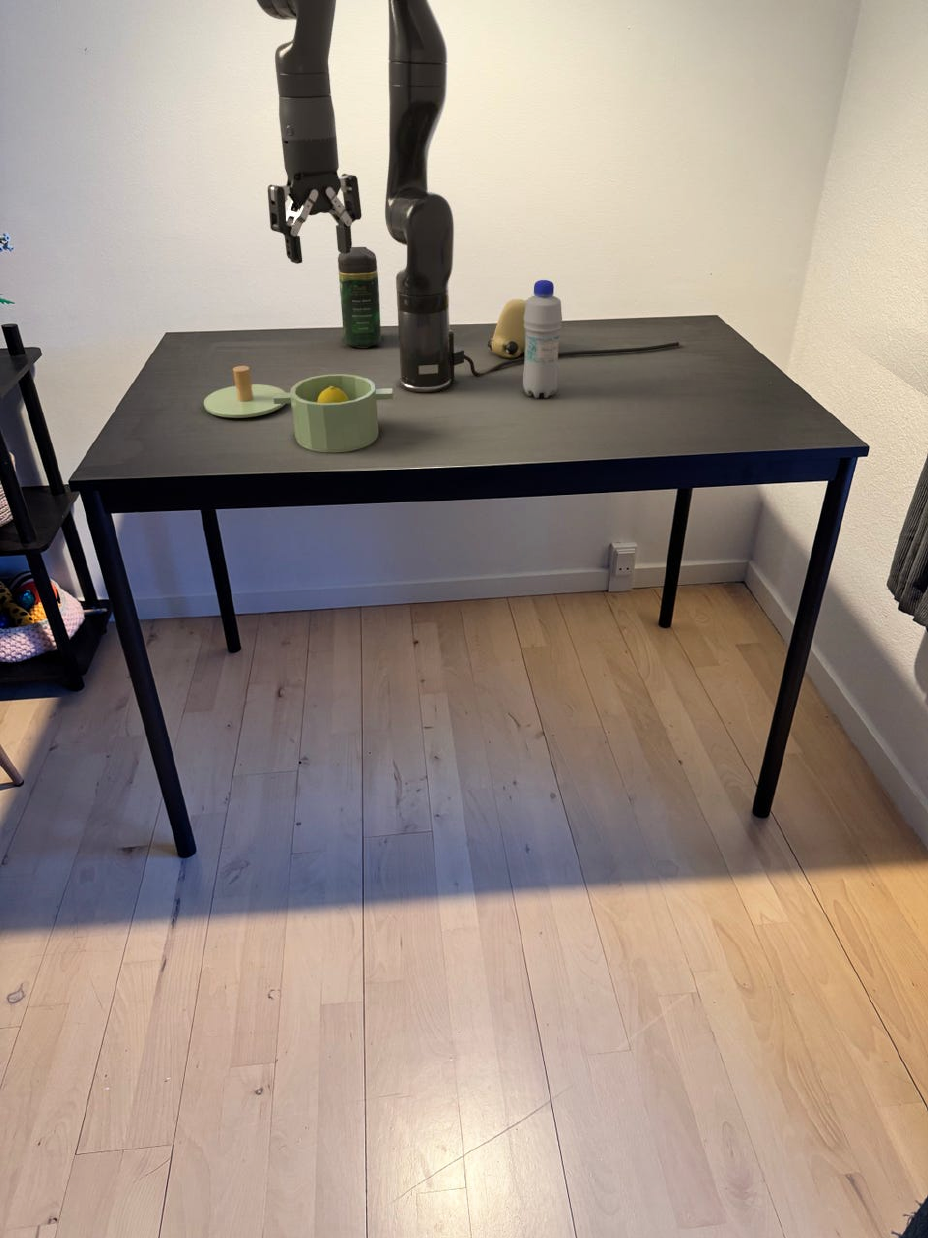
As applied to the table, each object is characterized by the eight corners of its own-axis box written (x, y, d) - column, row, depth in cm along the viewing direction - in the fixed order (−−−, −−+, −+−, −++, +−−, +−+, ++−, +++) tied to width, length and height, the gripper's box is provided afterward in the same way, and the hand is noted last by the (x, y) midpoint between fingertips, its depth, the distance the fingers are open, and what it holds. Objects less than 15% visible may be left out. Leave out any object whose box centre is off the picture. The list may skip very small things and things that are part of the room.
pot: (282, 421, 152) (276, 376, 148) (393, 417, 154) (391, 371, 149) (276, 455, 141) (269, 407, 136) (396, 449, 142) (393, 402, 138)
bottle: (533, 403, 158) (537, 287, 147) (514, 390, 163) (517, 278, 152) (565, 396, 161) (572, 282, 149) (545, 384, 166) (550, 273, 154)
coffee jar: (382, 348, 184) (377, 253, 173) (344, 350, 183) (336, 255, 172) (380, 334, 191) (375, 242, 181) (343, 335, 191) (336, 243, 180)
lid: (211, 391, 164) (204, 356, 160) (290, 388, 165) (286, 353, 161) (198, 422, 152) (191, 384, 148) (284, 419, 153) (279, 381, 149)
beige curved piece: (499, 364, 186) (469, 338, 177) (527, 313, 185) (499, 284, 177) (532, 375, 179) (502, 348, 171) (561, 322, 178) (533, 292, 170)
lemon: (347, 440, 144) (343, 393, 140) (314, 438, 145) (309, 391, 141) (356, 427, 149) (353, 380, 144) (325, 425, 150) (320, 379, 145)
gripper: (335, 126, 128) (344, 245, 137) (249, 135, 120) (265, 261, 130) (366, 130, 123) (374, 253, 133) (279, 140, 116) (294, 270, 125)
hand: (320, 257), depth 131 cm, fingers open, 8 cm apart
